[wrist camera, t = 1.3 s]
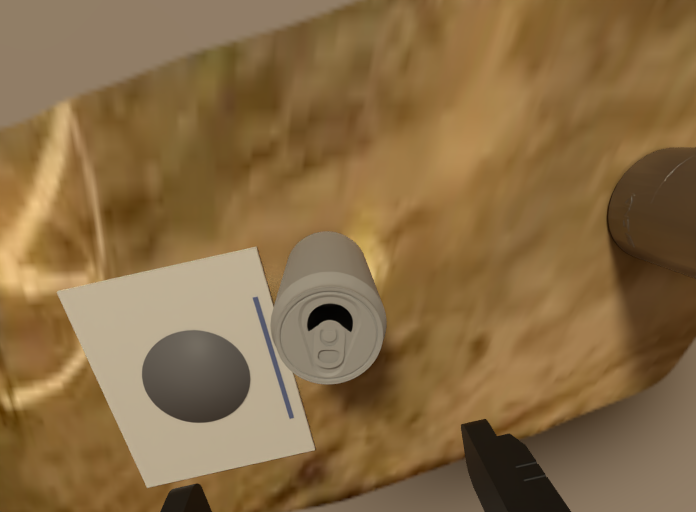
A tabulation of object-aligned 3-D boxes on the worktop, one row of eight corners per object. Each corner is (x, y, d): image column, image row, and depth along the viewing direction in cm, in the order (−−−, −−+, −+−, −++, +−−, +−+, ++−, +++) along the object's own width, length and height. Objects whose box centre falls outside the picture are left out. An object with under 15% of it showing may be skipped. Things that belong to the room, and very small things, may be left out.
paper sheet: (256, 246, 30) (255, 247, 30) (315, 447, 36) (315, 450, 36) (59, 290, 30) (55, 292, 30) (148, 485, 36) (146, 488, 36)
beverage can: (368, 230, 31) (396, 281, 19) (363, 305, 32) (385, 392, 21) (287, 227, 30) (266, 277, 19) (286, 303, 32) (267, 391, 20)
